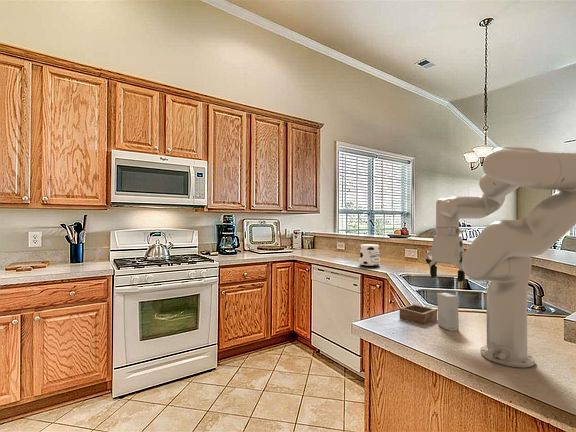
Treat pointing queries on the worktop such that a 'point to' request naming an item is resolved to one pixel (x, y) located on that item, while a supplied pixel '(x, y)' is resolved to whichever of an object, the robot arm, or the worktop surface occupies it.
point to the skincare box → (448, 311)
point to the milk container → (369, 255)
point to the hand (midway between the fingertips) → (446, 279)
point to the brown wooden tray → (418, 314)
